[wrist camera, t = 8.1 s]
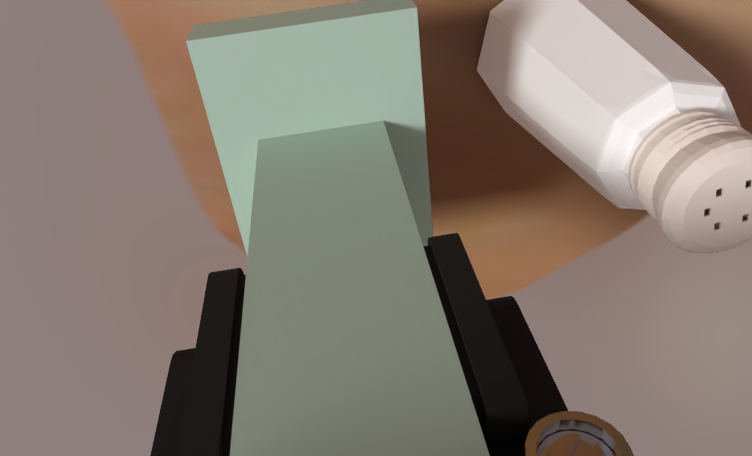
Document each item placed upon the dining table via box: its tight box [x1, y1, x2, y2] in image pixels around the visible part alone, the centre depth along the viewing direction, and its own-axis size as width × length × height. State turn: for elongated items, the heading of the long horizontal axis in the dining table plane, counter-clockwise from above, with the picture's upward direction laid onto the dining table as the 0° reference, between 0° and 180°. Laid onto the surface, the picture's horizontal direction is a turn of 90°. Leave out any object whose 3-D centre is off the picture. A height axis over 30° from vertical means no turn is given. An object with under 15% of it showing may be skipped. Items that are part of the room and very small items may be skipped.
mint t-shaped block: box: [186, 0, 490, 456], centre depth 12 cm, size 5×8×11 cm, turn 6°
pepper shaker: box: [477, 0, 752, 253], centre depth 18 cm, size 5×5×11 cm
